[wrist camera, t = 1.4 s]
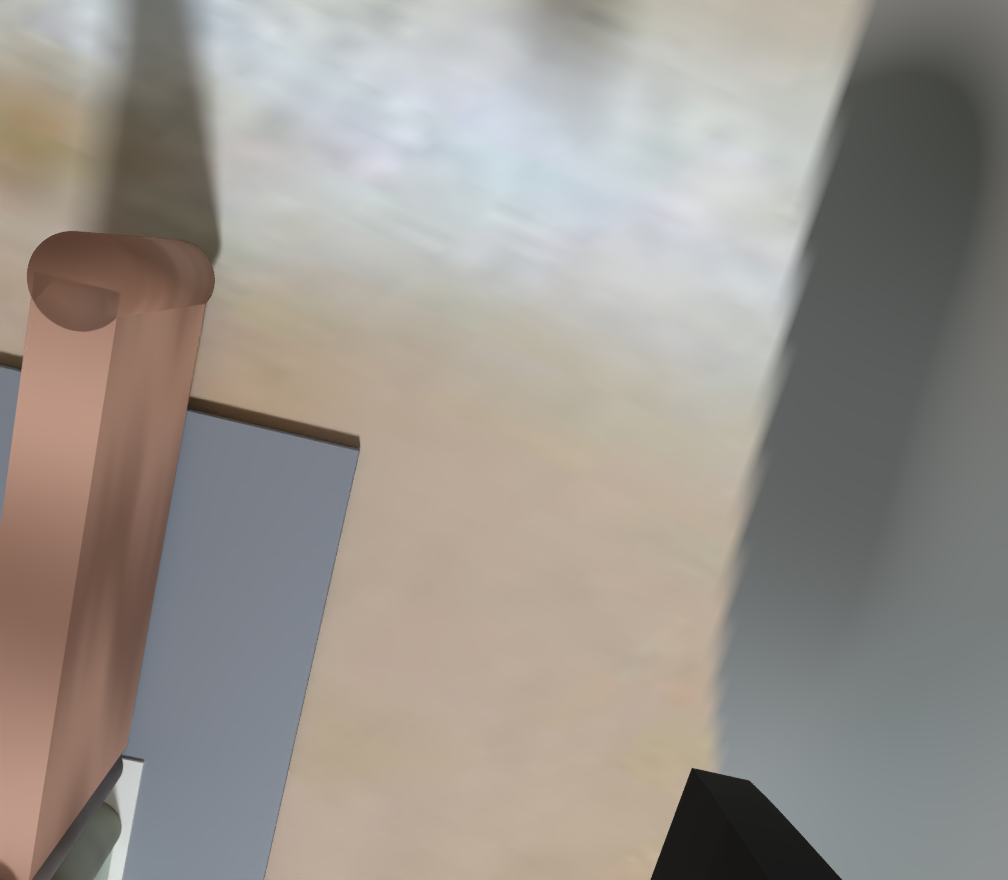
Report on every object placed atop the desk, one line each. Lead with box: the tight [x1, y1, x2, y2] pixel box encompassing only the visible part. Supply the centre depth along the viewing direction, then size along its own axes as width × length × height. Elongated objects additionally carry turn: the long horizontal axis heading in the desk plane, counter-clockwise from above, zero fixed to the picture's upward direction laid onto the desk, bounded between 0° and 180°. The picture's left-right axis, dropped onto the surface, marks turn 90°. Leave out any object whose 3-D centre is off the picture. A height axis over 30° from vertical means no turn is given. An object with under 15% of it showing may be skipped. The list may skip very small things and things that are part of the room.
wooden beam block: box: [0, 231, 215, 880], centre depth 14 cm, size 12×1×4 cm, turn 166°
